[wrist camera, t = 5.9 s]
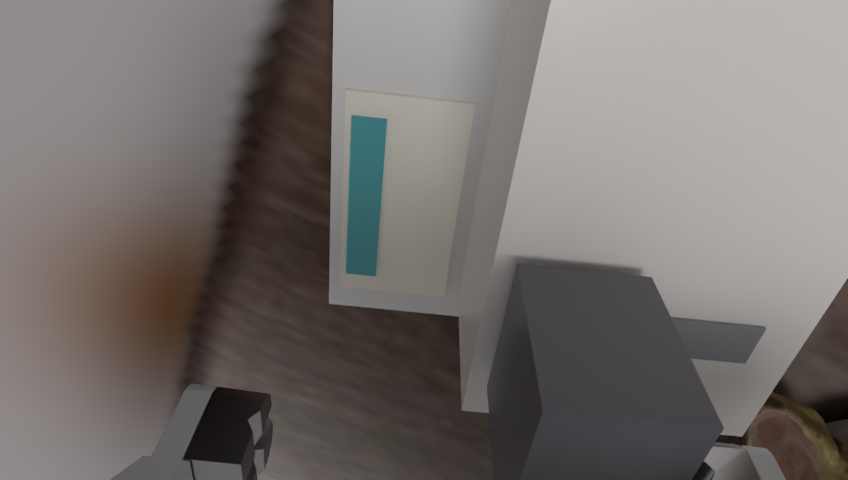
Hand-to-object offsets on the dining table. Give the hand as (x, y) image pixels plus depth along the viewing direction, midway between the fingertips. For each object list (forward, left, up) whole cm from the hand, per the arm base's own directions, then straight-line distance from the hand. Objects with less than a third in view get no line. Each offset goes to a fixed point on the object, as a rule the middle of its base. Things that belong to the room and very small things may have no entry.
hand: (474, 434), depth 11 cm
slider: (0, -2, -3) cm, 4 cm away
